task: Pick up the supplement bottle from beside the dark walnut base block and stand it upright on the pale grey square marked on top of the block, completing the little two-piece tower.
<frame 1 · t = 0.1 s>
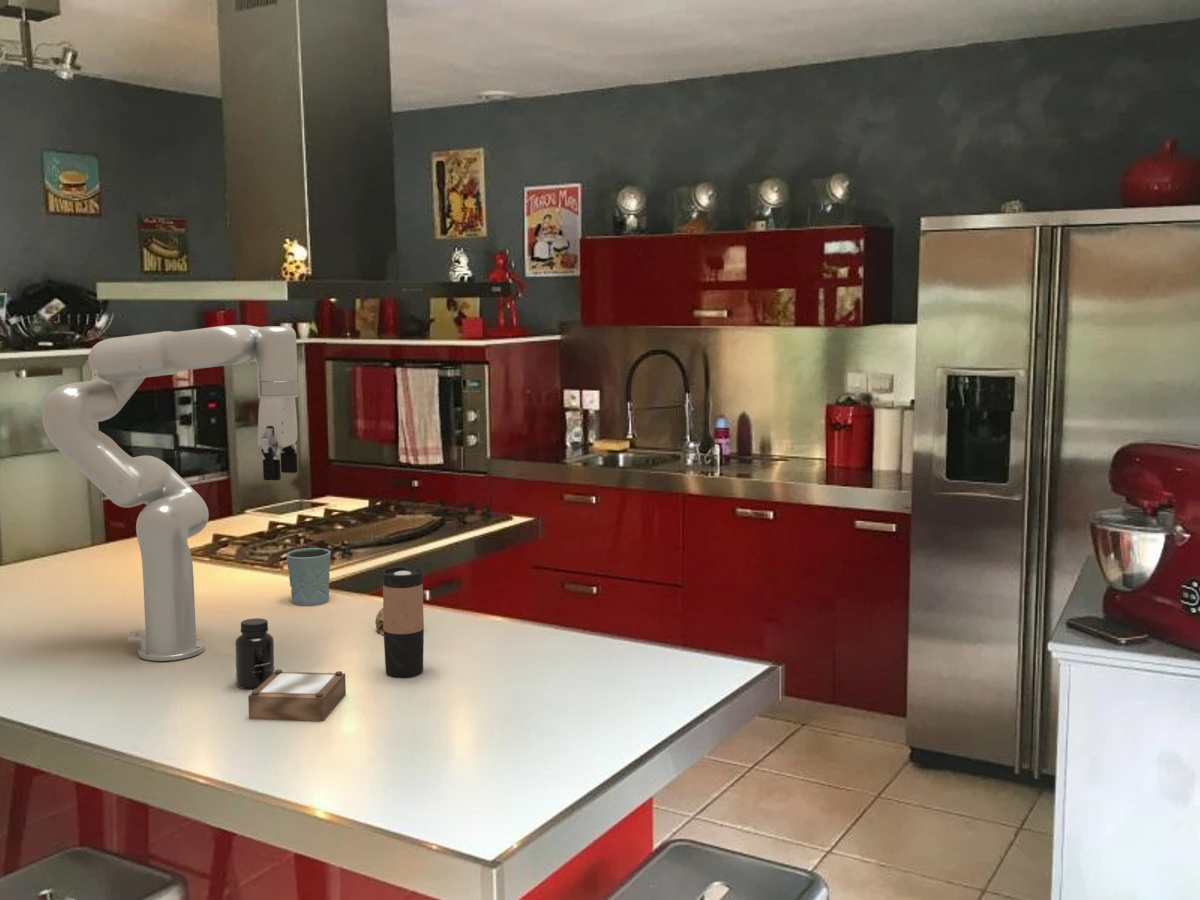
hand: (280, 476, 224), 37 cm above the worktop, fingers open, 9 cm apart
walnut base block: (298, 706, 201), on the worktop
drinking glass: (309, 602, 270), on the worktop
travel mug: (404, 673, 219), on the worktop
supplement bottle: (255, 684, 212), on the worktop
bread roll: (399, 631, 248), on the worktop
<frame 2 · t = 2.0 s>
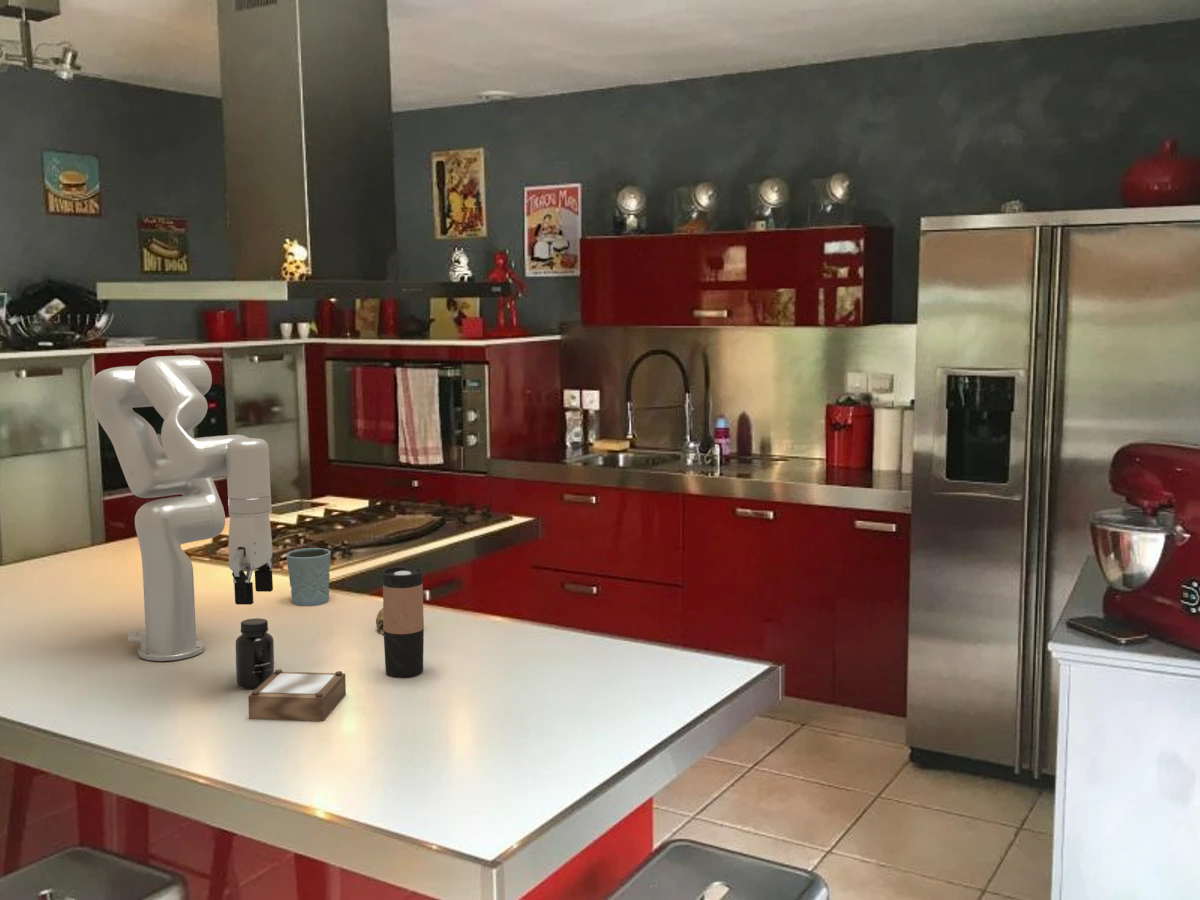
hand: (254, 597, 210), 17 cm above the worktop, fingers open, 9 cm apart
nothing on the worktop moved.
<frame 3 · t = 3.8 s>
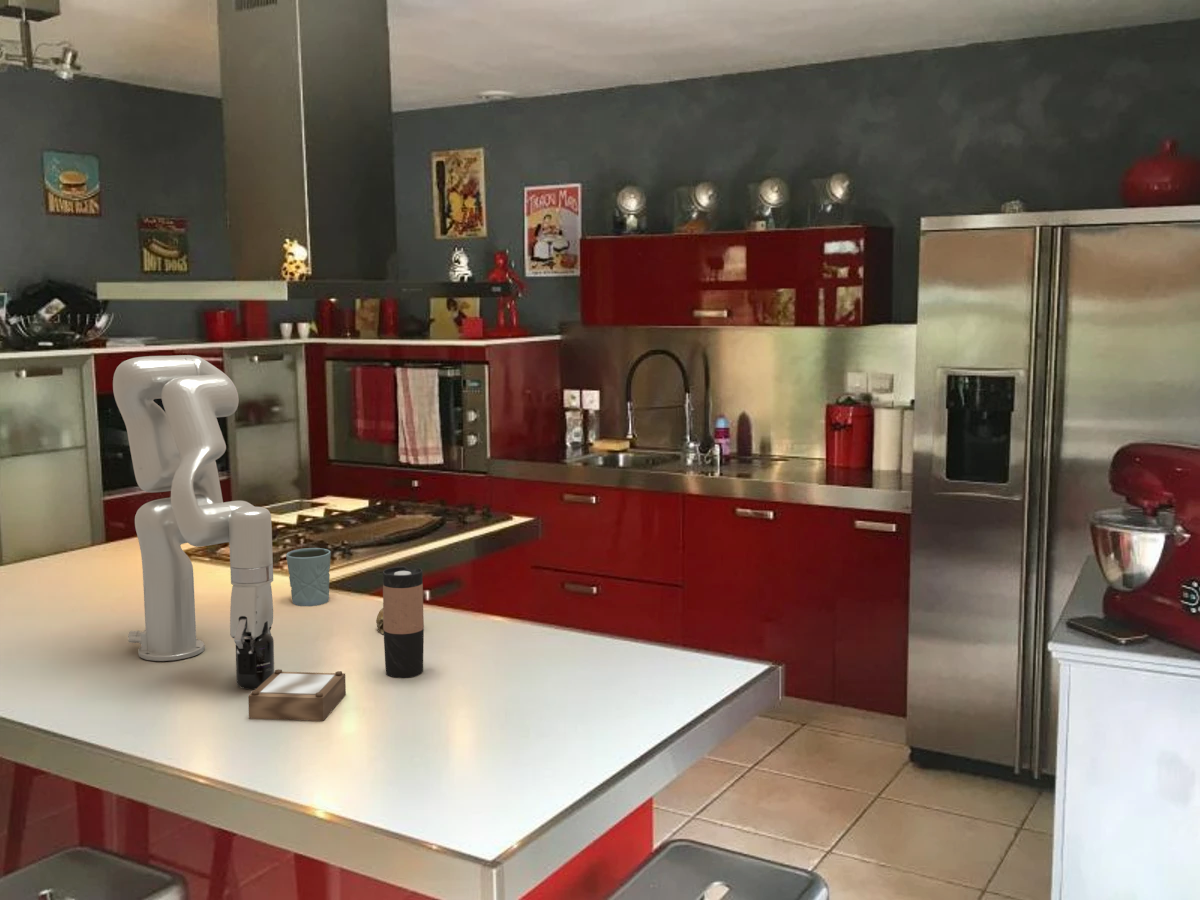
hand: (255, 666, 212), 3 cm above the worktop, fingers closed on supplement bottle, 6 cm apart
supplement bottle: (255, 684, 212), on the worktop, touching gripper
everything else where it was.
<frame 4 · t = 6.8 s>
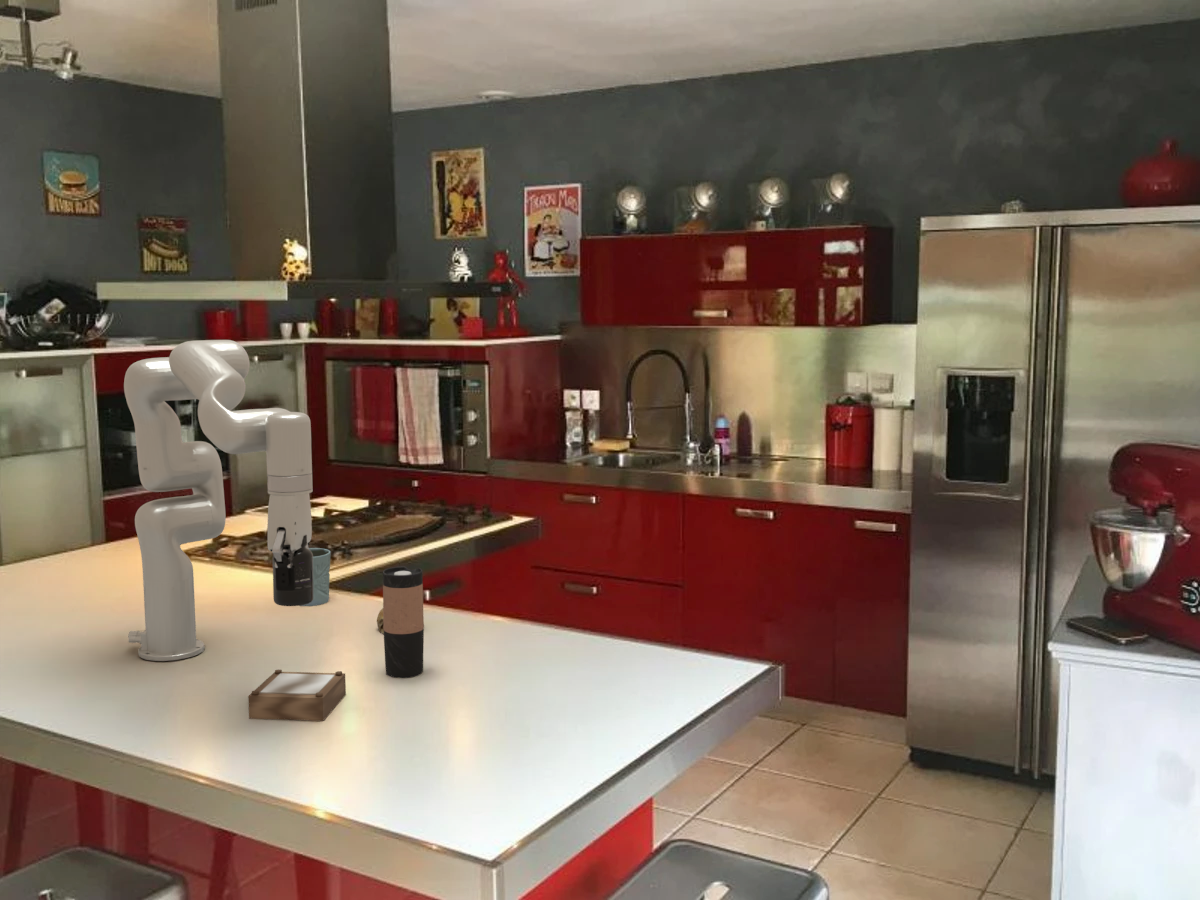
hand: (293, 584, 198), 22 cm above the worktop, fingers closed on supplement bottle, 6 cm apart
supplement bottle: (294, 603, 199), point 19 cm above the worktop, touching gripper
everything else where it was.
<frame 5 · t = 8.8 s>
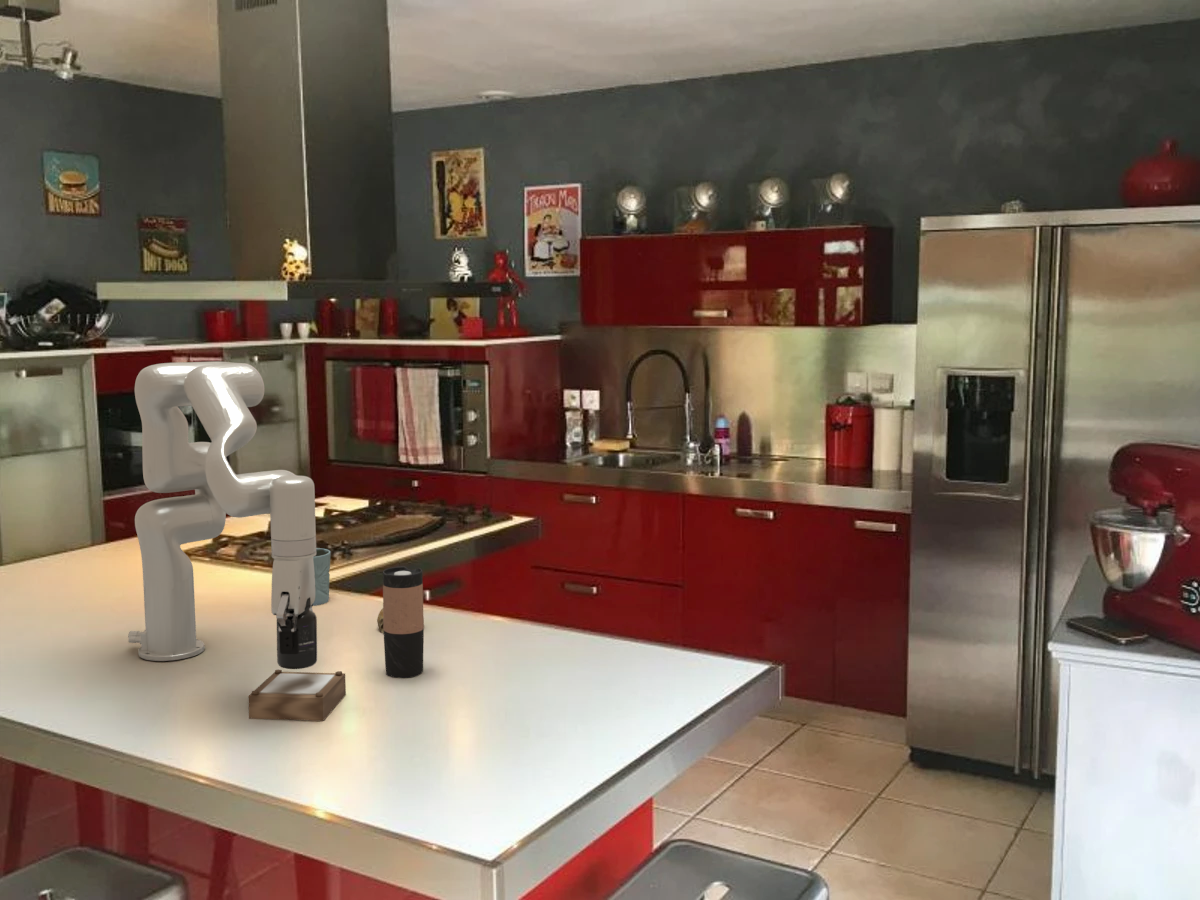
hand: (297, 646, 199), 11 cm above the worktop, fingers closed on supplement bottle, 6 cm apart
supplement bottle: (297, 665, 200), point 8 cm above the worktop, touching gripper
everything else where it was.
when the fingers open (9 cm above the worktop, at t = 10.2 s): supplement bottle drops 2 cm, resting on walnut base block.
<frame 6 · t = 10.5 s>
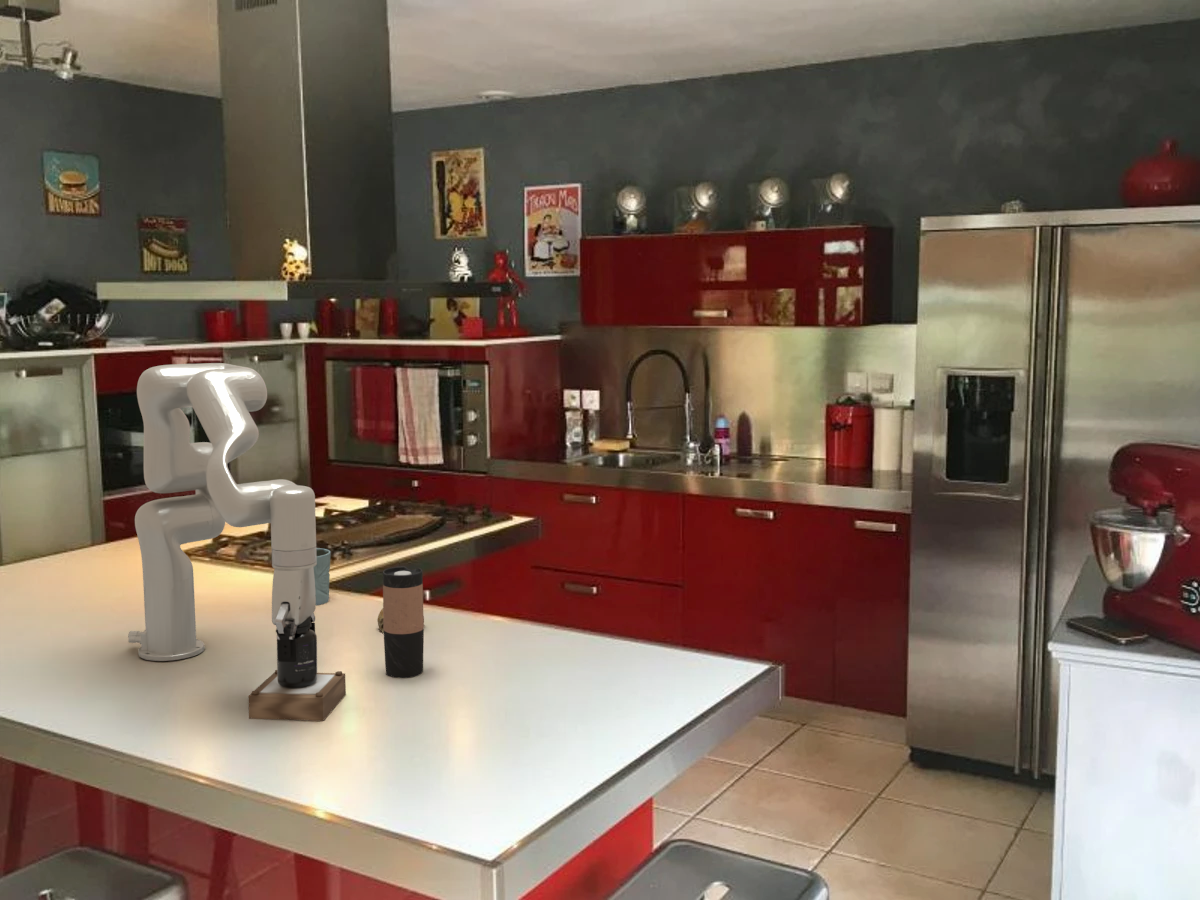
hand: (297, 652, 199), 10 cm above the worktop, fingers open, 9 cm apart
supplement bottle: (297, 683, 200), point 4 cm above the worktop, touching walnut base block
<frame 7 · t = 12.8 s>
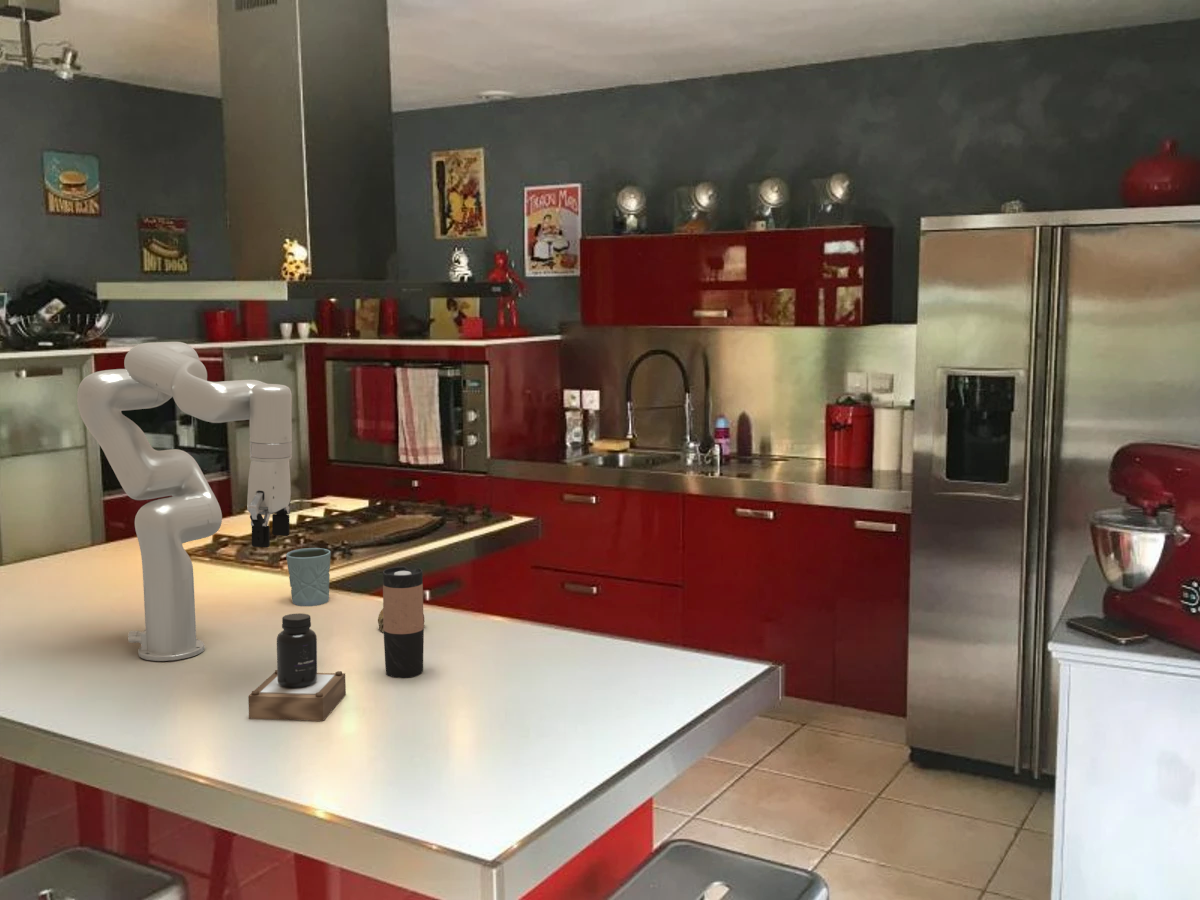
hand: (271, 540, 213), 26 cm above the worktop, fingers open, 9 cm apart
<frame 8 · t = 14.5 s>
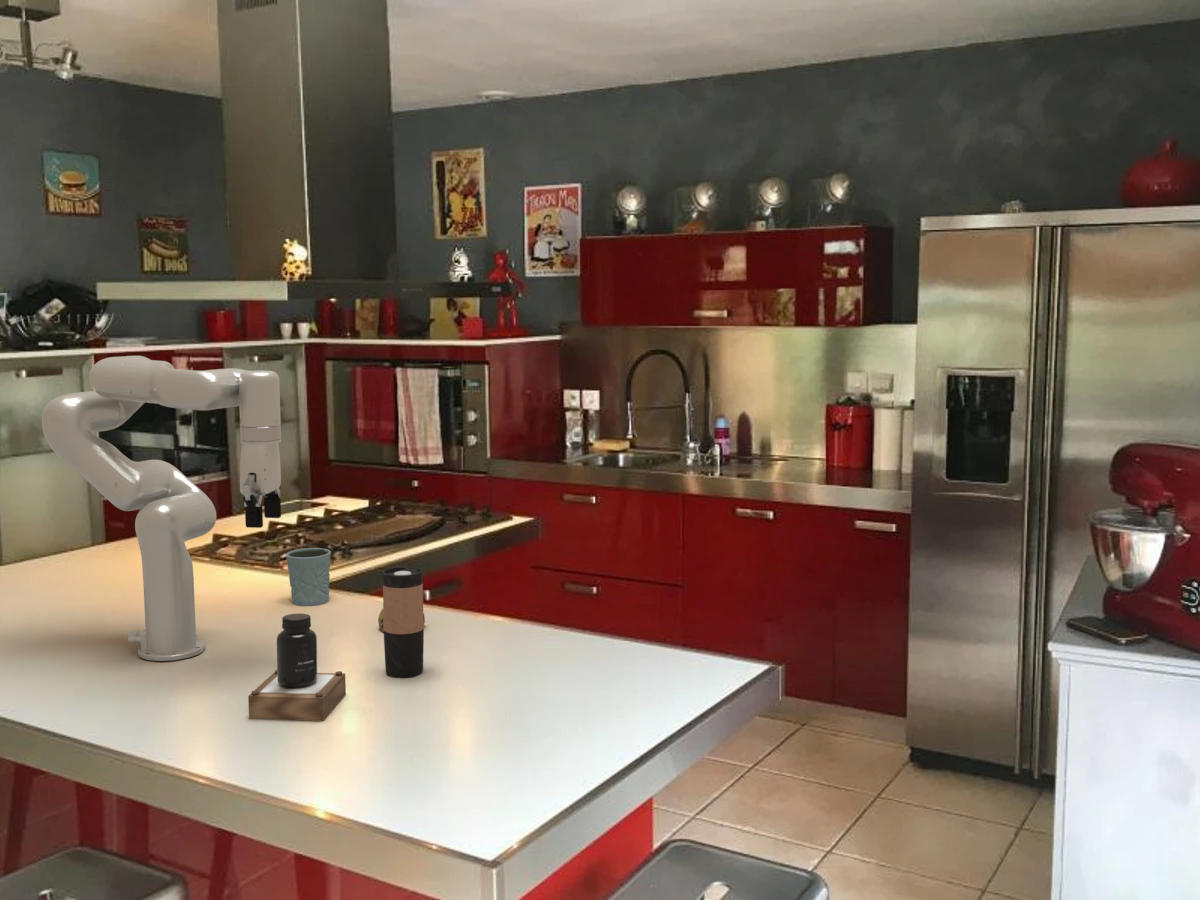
hand: (263, 522, 221), 28 cm above the worktop, fingers open, 9 cm apart
at the end: supplement bottle 0.2 cm off-centre on the walnut base block, point 4.0 cm above the walnut base block's base; supplement bottle tilted 0°; the gripper is holding nothing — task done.
